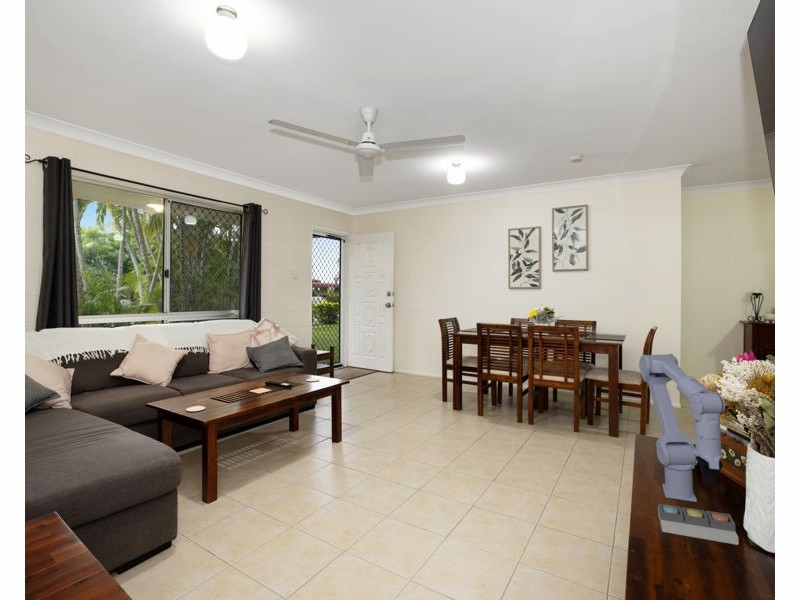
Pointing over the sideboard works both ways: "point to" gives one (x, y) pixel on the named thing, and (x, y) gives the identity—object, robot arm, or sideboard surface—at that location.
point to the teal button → (670, 509)
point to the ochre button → (694, 513)
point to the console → (698, 525)
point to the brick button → (719, 516)
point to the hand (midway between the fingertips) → (709, 485)
